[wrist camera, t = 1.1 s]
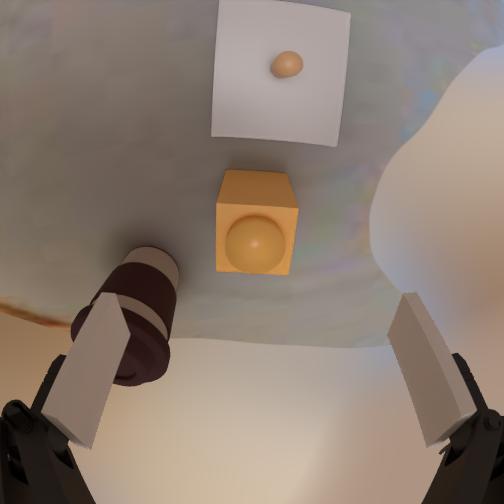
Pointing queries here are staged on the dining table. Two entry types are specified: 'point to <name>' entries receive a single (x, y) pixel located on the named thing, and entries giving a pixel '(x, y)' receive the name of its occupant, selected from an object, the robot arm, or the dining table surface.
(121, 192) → the dining table surface
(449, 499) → the robot arm
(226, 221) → the orange toy brick
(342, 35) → the white pegged board
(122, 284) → the coffee cup
